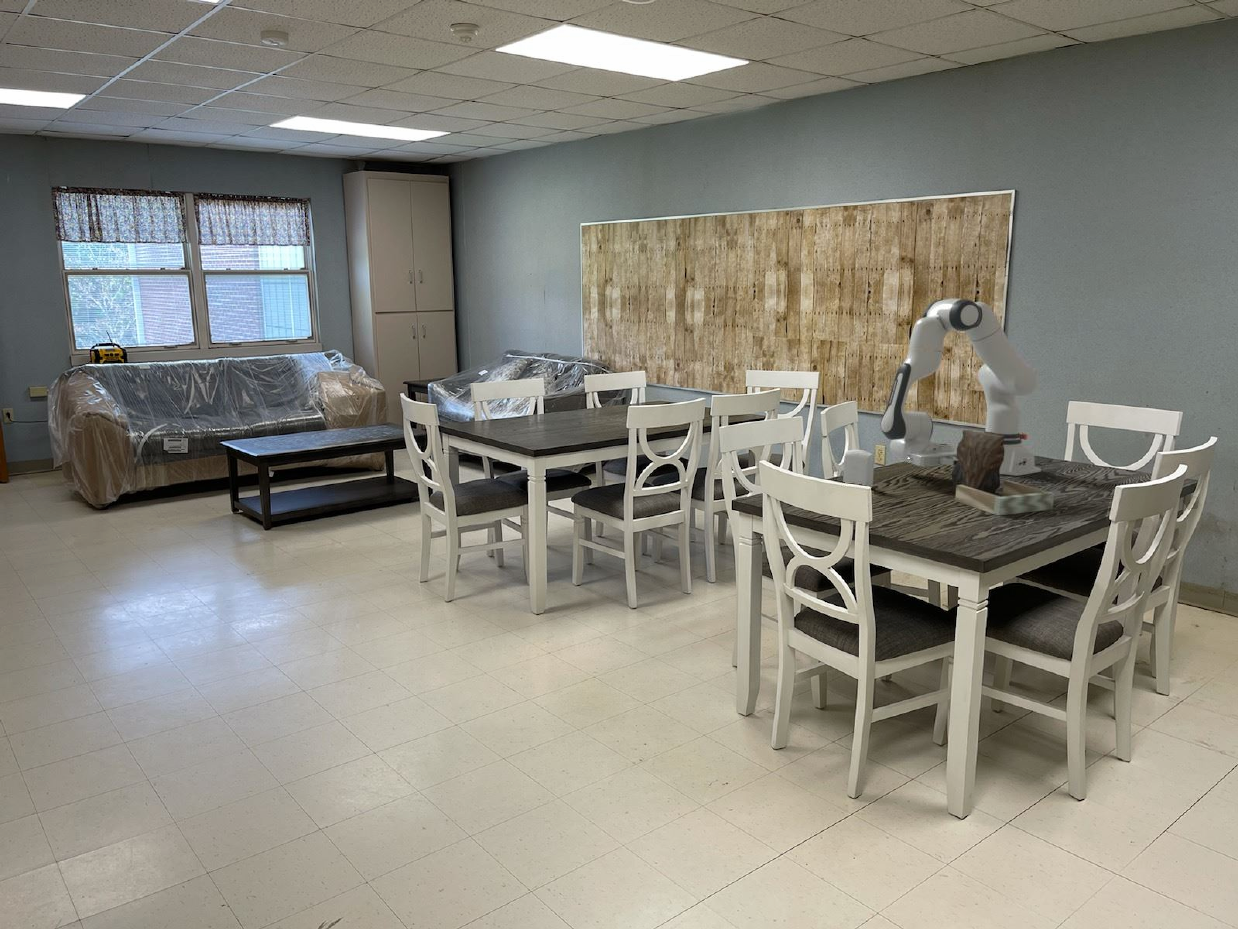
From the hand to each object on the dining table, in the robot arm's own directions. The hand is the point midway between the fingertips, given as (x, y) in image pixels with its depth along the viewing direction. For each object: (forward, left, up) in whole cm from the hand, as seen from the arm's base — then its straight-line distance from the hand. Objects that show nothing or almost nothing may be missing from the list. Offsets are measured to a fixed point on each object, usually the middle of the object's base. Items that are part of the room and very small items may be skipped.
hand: (956, 462), depth 292 cm
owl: (-1, +7, -9) cm, 12 cm away
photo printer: (+28, -14, -9) cm, 32 cm away
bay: (0, +20, -9) cm, 22 cm away
